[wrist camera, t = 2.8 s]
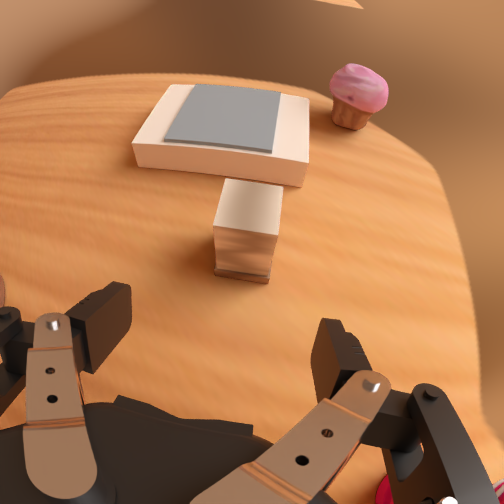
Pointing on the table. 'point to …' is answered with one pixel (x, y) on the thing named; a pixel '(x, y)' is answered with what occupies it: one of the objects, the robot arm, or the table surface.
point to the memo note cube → (246, 230)
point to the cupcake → (356, 95)
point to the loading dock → (227, 133)
